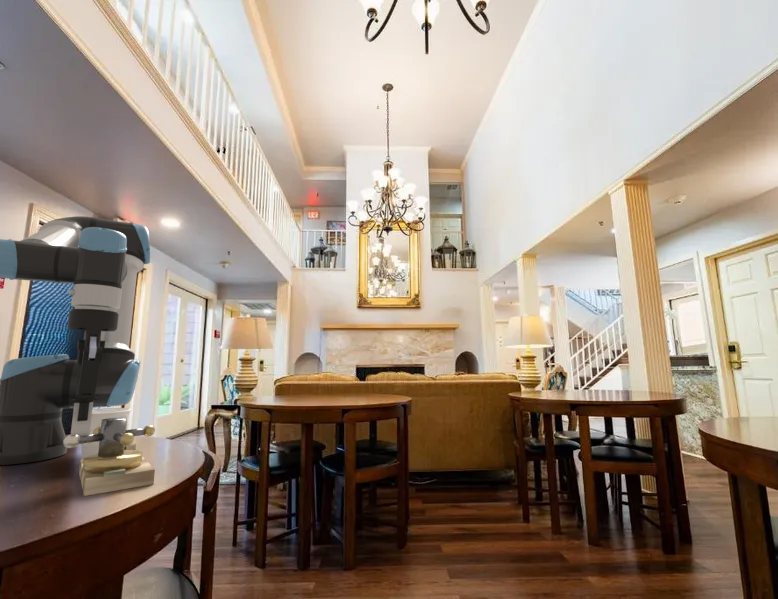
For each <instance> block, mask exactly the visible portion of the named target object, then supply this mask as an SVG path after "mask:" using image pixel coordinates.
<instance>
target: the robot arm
mask: <svg viewBox="0 0 778 599" xmlns="http://www.w3.org/2000/svg"><path fill="white" fill-rule="evenodd" d="M149 232H150V231H149V229H148V227H147V226H145V225H143V224H138V223H133V222H131V221H129V222H124V221H120V220H119V221H118V220H111V219H105V218H99V217H98V218H97V217H93V216H85V215H84V216H80V215H79V216H76V215H75V216H69V217H68V216H67V217H61V218H56V219H55V218H54V219H53V220H49V221H48V222H45V223H44V224H43V225H41V226H40V228H39V229H38V231H37V232H35V233H33V234H31V235H30V236H27V237H25V238H23V239H21V240H13V238H11V239H3V238H2V239H1V238H0V279H7V280H8V279H9V280H11V281H14V280H18V281H31V282H33V281H34V282H47V283H58V284H59V283H60V284H72V285H73V286H72V288H73V289H69V290H68V291H67V294H68V295H70V296H72V297H71V302H70V305H71V307H74V308H72V309H71V310H69V312H68V313H69V314H68V320H67V321H68V322H67V328H68V329H69V330H73V331H84V332H83V338H82V339H78V340H77V344H76V345H77V346H76V349H77V357H76V359H70V356H69V354H65V353H63V354H62V353H61V354H49V355H39V356H36V355H35V356H28V357H19V358H13V359H10V360H8V361H6V362H5V363H4V365H3V368H2V370H1V371H2V372H1V376H0V466H5V465H17V464H18V465H19V464H26V463H27V464H28V463H33V462H34V463H35V462H41V461H45V460H50V459H54V458H58V457H60V456H61V457H62V456H63V455H66V454H67V451H68V448H67V447H65V446H64V444H63V441H64V439H65V437H66V436H67V435H66V433H65V430H64V426H63V422H62V415H63V409H73V412H72V421H71V427H70V434H77V435H79V436H82V435H89V434H90V425H91V417H92V409H93V408H101V407H102V408H112V407H118V406H119V407H120V406H126V405H128V404H129V403H130V402H131V401H132V399H133V396H134V393H135V389H136V386H137V381H138V379H139V378H138V377H139V372H140V368H141V361H140V359H137V358H136V353H135V351H133V350H132V349H131V348H130V343H131V333H132V324H133V313H134V304H135V295H136V285H137V278H138V273H139V272H142V270H144V267H145V265H149V264H150V261H151V241H150V233H149Z"/></svg>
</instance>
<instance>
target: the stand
mask: <svg viewBox="0 0 778 599" xmlns="http://www.w3.org/2000/svg"><path fill="white" fill-rule="evenodd" d="M136 448H137V444H136V442H135V441H133V443H132V444H130V445H128V446H124V450H136ZM83 463H84V459H79V468H78V475H79V480H80V485H81V488H82V494H83V496H84V497H87V496H93V495H97V494H103V493H104V494H105V493H108V492H109V493H110V492H115V491H121V490H127V489H133V488H139V487H143V486H150V485H154V484H155V471H156V470H155V469H156V468H154V467H153V466H152V464H151V463H149V462H148V460H147V459H146V458H145V457H144V455H143V456H142V463H141V464H140V465H138V466H136V467H132V468H129V469H119V470H112V471H105V472H85V471H83Z"/></svg>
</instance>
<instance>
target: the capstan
mask: <svg viewBox="0 0 778 599" xmlns="http://www.w3.org/2000/svg"><path fill="white" fill-rule="evenodd" d="M127 423H128V420H127V418H108V419H103V420H102V422H101V426H100V427H97V428H96V429H95V430H94V432H93V434H91V435H82V436H79V435H77V434H71V433H70V434H67V435H65V436H66V437H65V439H64V441H63V444H64V446H65V447H67V449H73V448H76V447H78V446H79V445H81V444H83V443H91V442H98V441H99V451H98V454H94V455H90V456H87V457H85V458H84V463H83V471H85V472H105V471H112V470H119V469H129V468H132V467H136V466H138V465H140V464H141V463H142V456H143V457H144V453H143V451H141V450H124V446H128V445H130V444H132V443H133V442H135V441H134V440H135V437H141V436H144V437H147V438H148V437H149V438H150V437H152V436H153V435H154V434H155V432H156V428H155V426H153V425H151V424H150V425H146V426H144V427H140V428H139V427H138V428H131V429H127V426H128V425H127Z"/></svg>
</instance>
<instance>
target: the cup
mask: <svg viewBox="0 0 778 599" xmlns="http://www.w3.org/2000/svg"><path fill="white" fill-rule="evenodd" d="M131 411H132V408H128V407H127V408H126V407H103V408H95V409H92V417H91V425H90V434H89V435H91V434H93V432H94V430H95V429H96V428H97V427H100V426H101V422H102V420H103V419H108V418H127V421H129V417H130V413H131ZM80 446H81V458H82V459H84V458H85V457H87V456H90V455H94V454H98V451H99V441H98V442H91V443H83V444H80Z"/></svg>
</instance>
